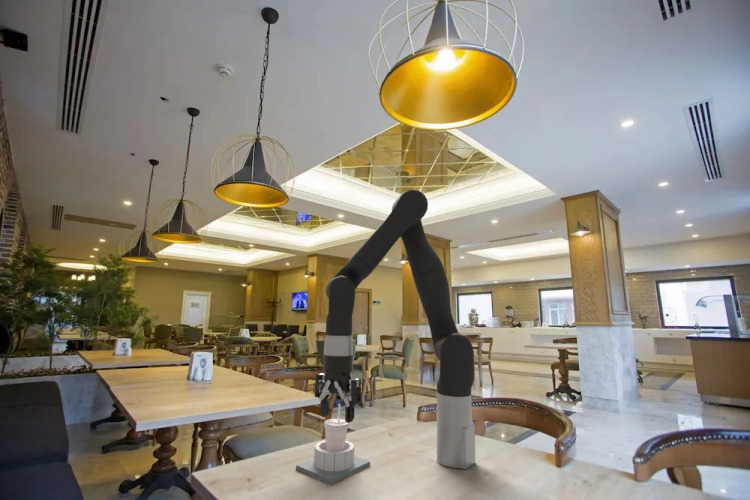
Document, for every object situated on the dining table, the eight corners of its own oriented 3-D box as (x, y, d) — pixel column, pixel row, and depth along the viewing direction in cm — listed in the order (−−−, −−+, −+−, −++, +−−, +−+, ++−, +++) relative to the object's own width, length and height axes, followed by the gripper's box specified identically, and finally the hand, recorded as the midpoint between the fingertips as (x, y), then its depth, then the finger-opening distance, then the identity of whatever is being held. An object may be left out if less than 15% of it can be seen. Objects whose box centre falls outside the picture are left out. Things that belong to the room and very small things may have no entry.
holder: (370, 465, 94) (370, 444, 95) (331, 484, 83) (332, 460, 84) (335, 453, 101) (336, 434, 102) (295, 469, 90) (297, 447, 91)
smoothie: (345, 469, 89) (348, 407, 91) (319, 467, 89) (322, 406, 91) (348, 458, 95) (350, 401, 98) (323, 457, 95) (326, 400, 98)
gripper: (368, 354, 95) (367, 421, 92) (329, 350, 104) (327, 411, 101) (349, 356, 89) (347, 428, 87) (309, 352, 98) (306, 417, 95)
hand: (336, 418), depth 94 cm, fingers open, 8 cm apart
